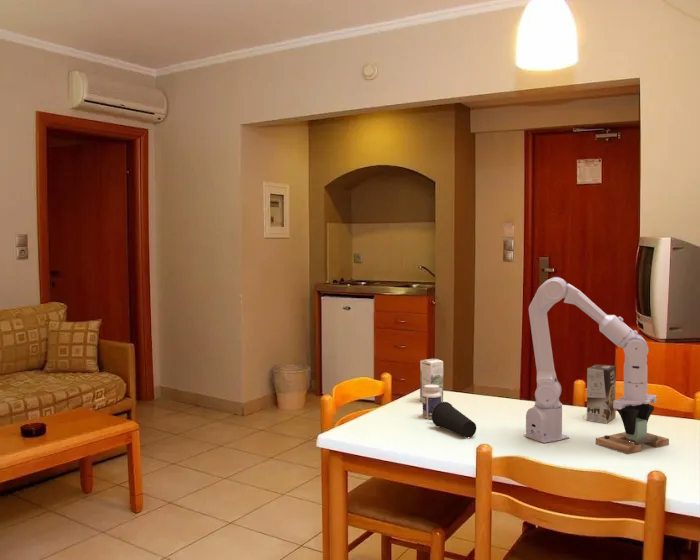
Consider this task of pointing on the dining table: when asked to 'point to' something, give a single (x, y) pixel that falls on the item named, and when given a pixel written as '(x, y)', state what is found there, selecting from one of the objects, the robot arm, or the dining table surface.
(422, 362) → the syrup box
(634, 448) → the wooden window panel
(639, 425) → the green block
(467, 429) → the drinking cup
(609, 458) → the dining table surface
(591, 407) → the coffee box
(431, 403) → the pill bottle
